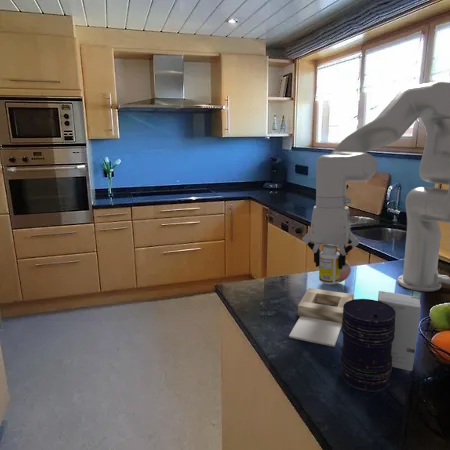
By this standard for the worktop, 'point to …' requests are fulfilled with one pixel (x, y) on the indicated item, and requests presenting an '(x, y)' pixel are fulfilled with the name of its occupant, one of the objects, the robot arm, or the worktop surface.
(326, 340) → the pad
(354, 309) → the dark blue cylinder
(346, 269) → the decorative fruit
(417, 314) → the skincare box
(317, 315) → the socket block
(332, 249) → the supplement bottle
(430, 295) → the worktop surface
